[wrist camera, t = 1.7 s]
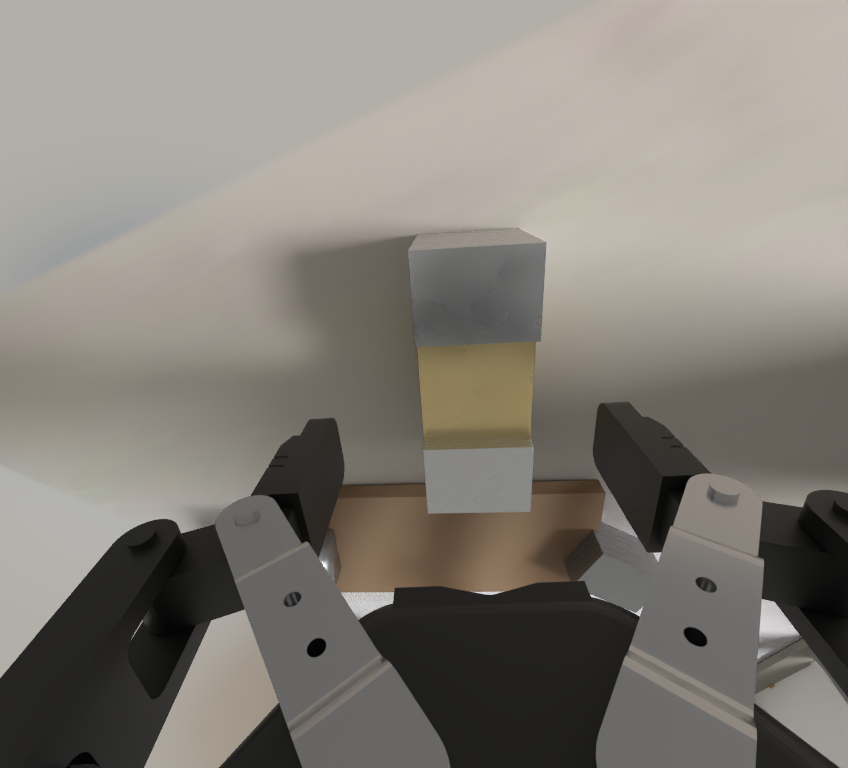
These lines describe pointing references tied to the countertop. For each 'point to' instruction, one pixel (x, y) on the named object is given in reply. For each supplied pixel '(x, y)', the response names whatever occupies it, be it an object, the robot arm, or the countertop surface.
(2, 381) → the countertop surface
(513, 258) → the gray and yellow block
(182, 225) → the countertop surface
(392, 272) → the countertop surface
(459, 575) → the coupling stand
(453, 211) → the countertop surface
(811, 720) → the skyscraper
